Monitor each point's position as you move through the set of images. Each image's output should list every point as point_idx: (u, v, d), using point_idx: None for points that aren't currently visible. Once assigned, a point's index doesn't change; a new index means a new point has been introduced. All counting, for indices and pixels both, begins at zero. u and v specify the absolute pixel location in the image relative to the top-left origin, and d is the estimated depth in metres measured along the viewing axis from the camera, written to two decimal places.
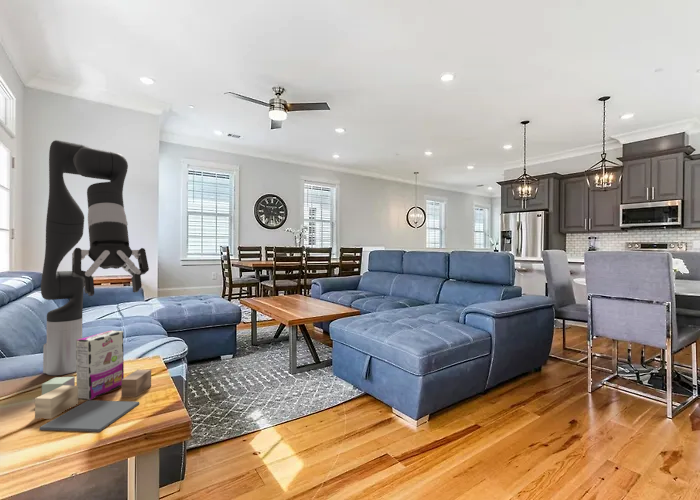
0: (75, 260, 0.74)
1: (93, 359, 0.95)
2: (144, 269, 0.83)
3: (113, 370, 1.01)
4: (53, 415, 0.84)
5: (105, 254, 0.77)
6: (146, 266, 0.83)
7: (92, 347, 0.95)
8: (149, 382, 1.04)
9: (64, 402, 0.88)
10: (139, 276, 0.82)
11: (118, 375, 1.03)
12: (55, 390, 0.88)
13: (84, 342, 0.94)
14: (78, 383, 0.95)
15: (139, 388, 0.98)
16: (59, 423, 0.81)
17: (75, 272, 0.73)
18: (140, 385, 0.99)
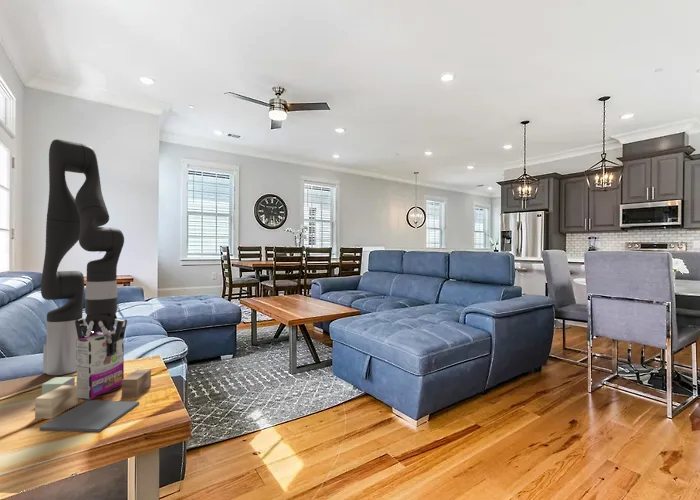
0: (77, 330, 0.99)
1: (94, 358, 0.95)
2: (114, 339, 0.98)
3: (113, 370, 1.01)
4: (54, 415, 0.85)
5: (91, 324, 0.98)
6: (116, 337, 0.98)
7: (92, 347, 0.95)
8: (149, 382, 1.04)
9: (64, 401, 0.88)
10: (112, 344, 0.99)
11: (118, 375, 1.03)
12: (55, 390, 0.88)
13: (84, 342, 0.94)
14: (78, 383, 0.95)
15: (139, 388, 0.98)
16: (59, 423, 0.81)
17: None
18: (140, 385, 0.99)
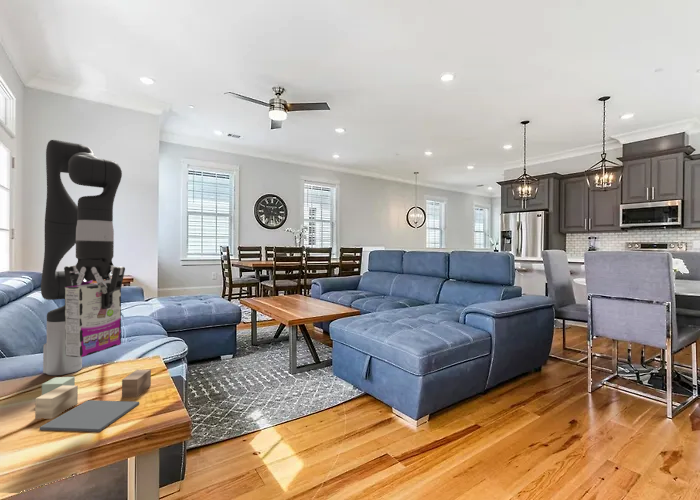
0: (66, 278, 0.84)
1: (85, 309, 0.81)
2: (110, 289, 0.84)
3: (108, 326, 0.87)
4: (54, 415, 0.85)
5: (83, 271, 0.83)
6: (113, 286, 0.84)
7: (84, 296, 0.80)
8: (149, 382, 1.04)
9: (64, 401, 0.88)
10: (107, 295, 0.85)
11: (115, 333, 0.89)
12: (55, 390, 0.88)
13: (75, 289, 0.80)
14: (67, 338, 0.80)
15: (139, 388, 0.98)
16: (59, 423, 0.81)
17: None
18: (140, 385, 0.99)
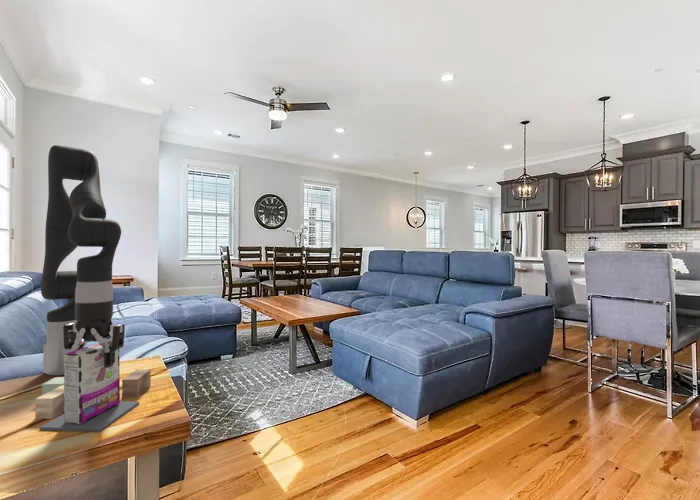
0: (64, 336, 0.84)
1: (85, 376, 0.81)
2: (112, 348, 0.84)
3: (107, 388, 0.87)
4: (54, 415, 0.85)
5: (82, 332, 0.83)
6: (115, 345, 0.84)
7: (83, 362, 0.81)
8: (149, 382, 1.04)
9: None
10: (110, 353, 0.85)
11: (114, 393, 0.89)
12: (55, 390, 0.88)
13: (74, 357, 0.80)
14: (66, 405, 0.81)
15: (140, 387, 0.98)
16: (59, 423, 0.81)
17: (64, 347, 0.84)
18: (140, 384, 0.99)
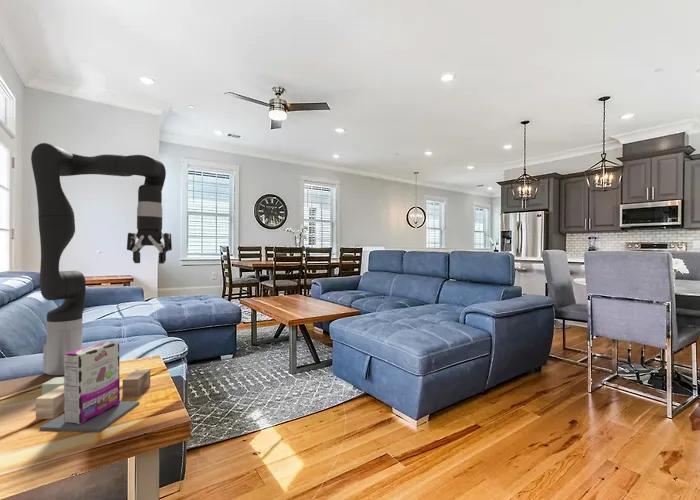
0: (127, 241, 1.18)
1: (85, 376, 0.81)
2: (165, 249, 1.17)
3: (107, 388, 0.87)
4: (55, 415, 0.85)
5: (141, 238, 1.17)
6: (166, 247, 1.17)
7: (83, 362, 0.81)
8: (148, 382, 1.04)
9: None
10: (162, 253, 1.18)
11: (114, 393, 0.89)
12: (55, 391, 0.88)
13: (74, 357, 0.80)
14: (66, 405, 0.81)
15: (140, 387, 0.98)
16: (59, 423, 0.81)
17: (127, 249, 1.18)
18: (141, 384, 0.99)
